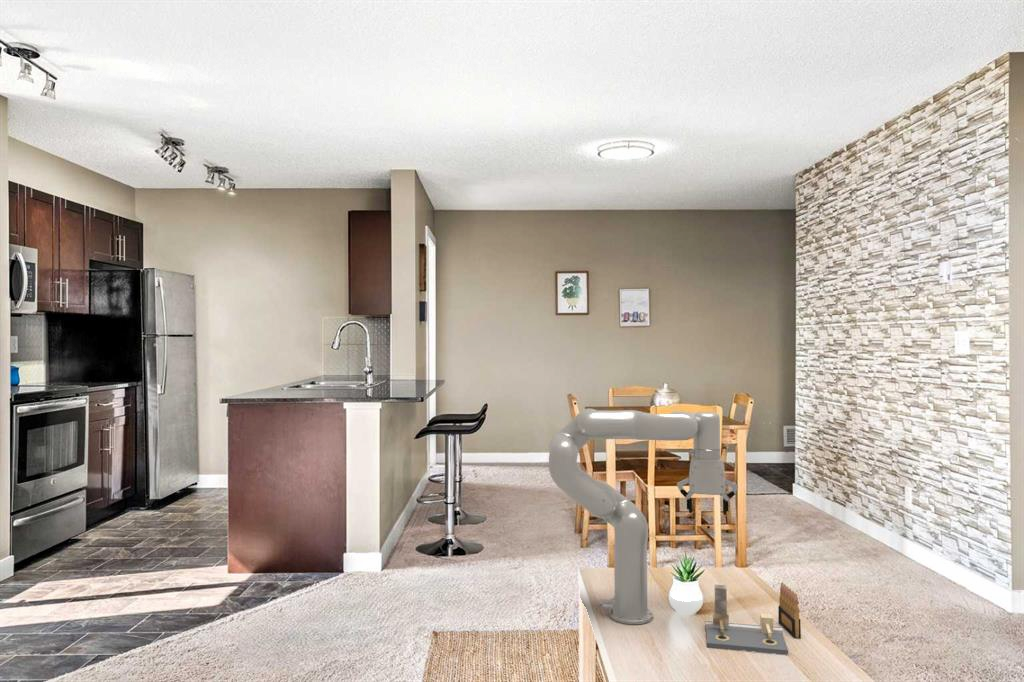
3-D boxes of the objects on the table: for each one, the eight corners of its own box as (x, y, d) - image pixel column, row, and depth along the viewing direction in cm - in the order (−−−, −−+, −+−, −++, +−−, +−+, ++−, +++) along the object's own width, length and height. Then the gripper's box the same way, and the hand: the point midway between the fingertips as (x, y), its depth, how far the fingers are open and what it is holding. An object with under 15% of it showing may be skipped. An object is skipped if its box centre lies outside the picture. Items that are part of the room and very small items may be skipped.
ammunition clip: (801, 638, 186) (800, 594, 186) (794, 638, 186) (793, 594, 186) (784, 622, 197) (784, 580, 197) (778, 622, 197) (777, 580, 197)
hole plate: (707, 647, 181) (706, 626, 181) (705, 625, 196) (705, 605, 196) (788, 655, 176) (788, 633, 176) (780, 631, 191) (780, 611, 191)
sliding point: (714, 635, 184) (714, 595, 184) (713, 622, 193) (712, 584, 193) (730, 636, 183) (729, 596, 183) (728, 623, 192) (727, 585, 192)
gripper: (676, 455, 201) (676, 514, 201) (738, 457, 197) (739, 517, 196) (676, 451, 208) (677, 508, 208) (736, 453, 204) (737, 511, 204)
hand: (707, 512), depth 202 cm, fingers open, 9 cm apart
